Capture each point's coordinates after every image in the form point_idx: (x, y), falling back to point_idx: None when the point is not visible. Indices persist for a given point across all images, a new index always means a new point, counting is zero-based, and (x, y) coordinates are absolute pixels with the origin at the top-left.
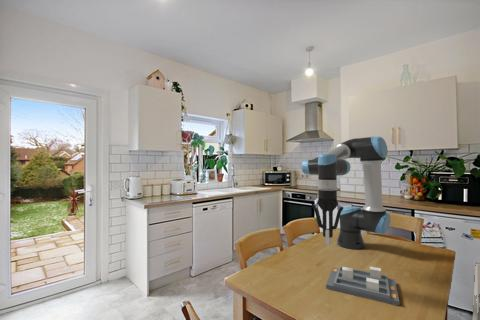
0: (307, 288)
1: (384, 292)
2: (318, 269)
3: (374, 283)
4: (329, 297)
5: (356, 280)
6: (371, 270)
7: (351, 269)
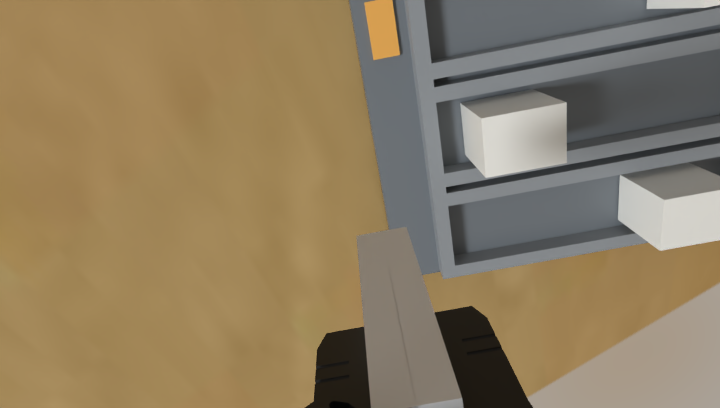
0: (310, 319)
1: (716, 157)
2: (235, 22)
3: (704, 239)
4: None
5: (567, 155)
6: (709, 4)
7: (554, 126)
